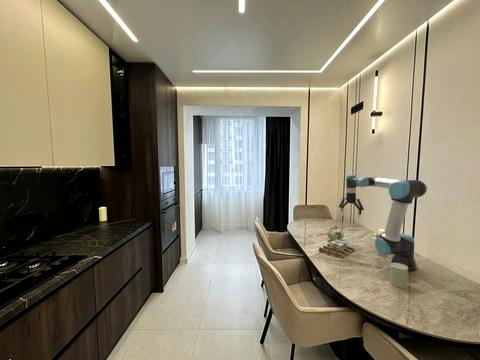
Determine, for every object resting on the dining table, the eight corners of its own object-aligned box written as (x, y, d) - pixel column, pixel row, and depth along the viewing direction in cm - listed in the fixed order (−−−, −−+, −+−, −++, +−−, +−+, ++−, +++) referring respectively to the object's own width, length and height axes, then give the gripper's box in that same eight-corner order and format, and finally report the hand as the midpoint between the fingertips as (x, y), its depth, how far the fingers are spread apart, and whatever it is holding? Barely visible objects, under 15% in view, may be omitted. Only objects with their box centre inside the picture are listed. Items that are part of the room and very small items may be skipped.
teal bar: (347, 249, 193) (347, 242, 193) (344, 250, 191) (344, 243, 190) (336, 246, 201) (336, 239, 201) (333, 247, 199) (333, 240, 198)
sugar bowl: (348, 244, 208) (348, 228, 208) (332, 244, 208) (332, 228, 207) (338, 237, 228) (338, 222, 227) (323, 237, 228) (324, 223, 227)
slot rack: (354, 250, 192) (354, 247, 191) (341, 258, 177) (341, 254, 176) (332, 244, 207) (332, 241, 207) (318, 251, 192) (318, 248, 192)
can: (390, 278, 144) (390, 260, 143) (408, 283, 138) (408, 264, 137) (388, 284, 137) (389, 265, 136) (407, 289, 131) (407, 269, 130)
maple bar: (343, 251, 189) (343, 244, 189) (341, 252, 186) (341, 245, 186) (332, 247, 197) (332, 241, 196) (330, 249, 194) (330, 242, 194)
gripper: (368, 193, 185) (368, 218, 186) (339, 191, 204) (338, 214, 206) (364, 194, 180) (364, 220, 182) (334, 191, 200) (334, 215, 201)
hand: (350, 216), depth 194 cm, fingers open, 13 cm apart
